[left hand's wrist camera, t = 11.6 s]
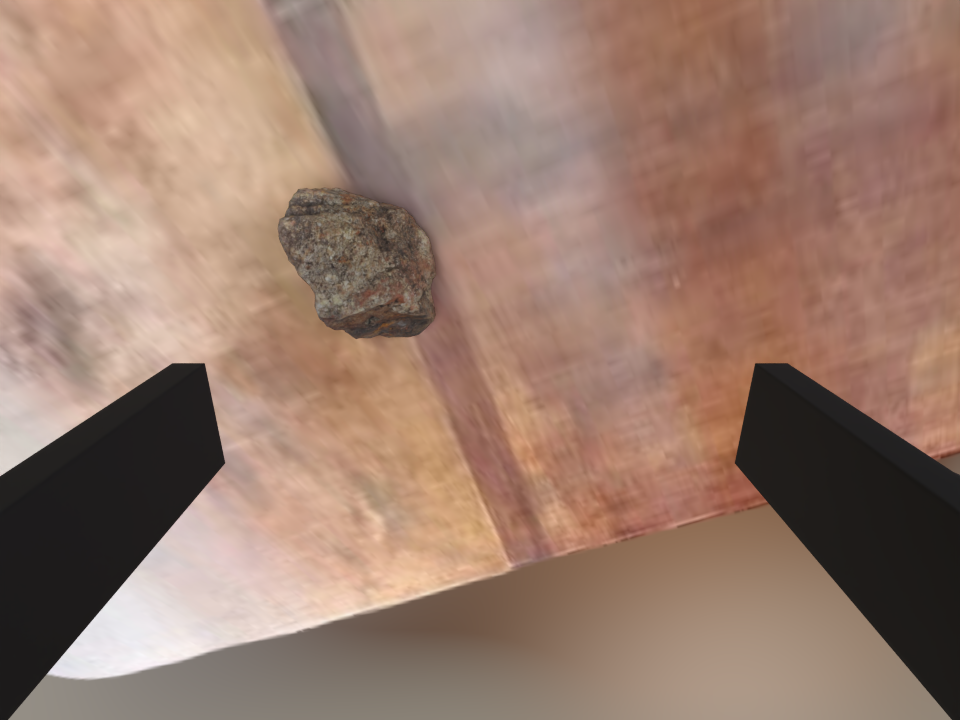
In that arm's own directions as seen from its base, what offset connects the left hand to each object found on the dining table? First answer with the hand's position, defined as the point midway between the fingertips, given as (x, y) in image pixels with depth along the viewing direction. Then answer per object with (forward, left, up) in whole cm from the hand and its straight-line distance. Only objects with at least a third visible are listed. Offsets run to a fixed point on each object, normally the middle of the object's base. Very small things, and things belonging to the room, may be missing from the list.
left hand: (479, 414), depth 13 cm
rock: (+9, -2, -35) cm, 36 cm away
